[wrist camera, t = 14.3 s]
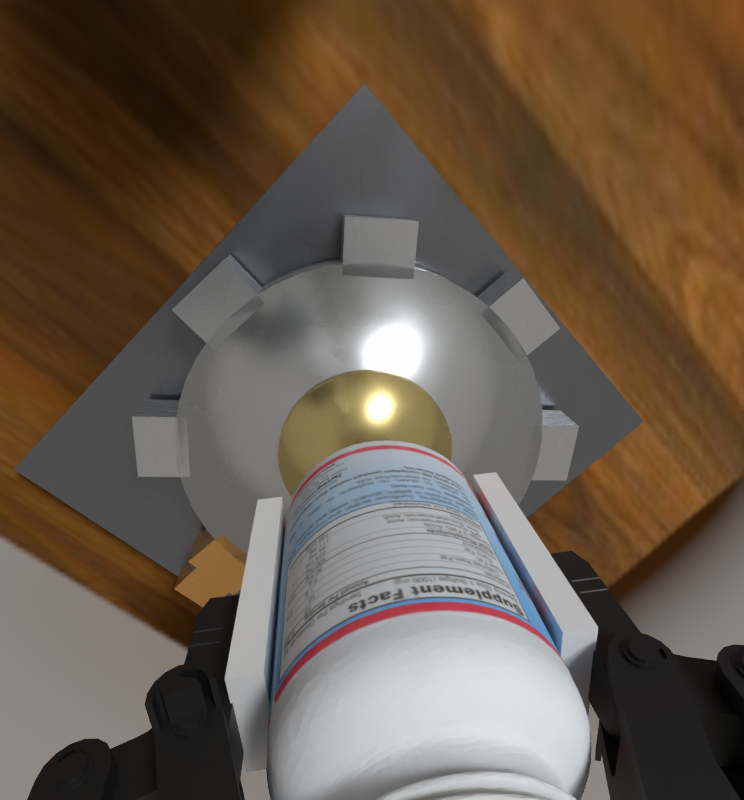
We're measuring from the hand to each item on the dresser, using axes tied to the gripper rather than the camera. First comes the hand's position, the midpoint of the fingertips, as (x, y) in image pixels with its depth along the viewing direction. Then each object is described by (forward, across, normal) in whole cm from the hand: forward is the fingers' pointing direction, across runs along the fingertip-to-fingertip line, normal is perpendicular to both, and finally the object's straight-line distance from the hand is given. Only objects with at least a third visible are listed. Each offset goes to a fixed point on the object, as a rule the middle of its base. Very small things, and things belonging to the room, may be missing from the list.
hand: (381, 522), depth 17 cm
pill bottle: (+1, 0, 0) cm, 1 cm away
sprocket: (+7, 0, 0) cm, 7 cm away
